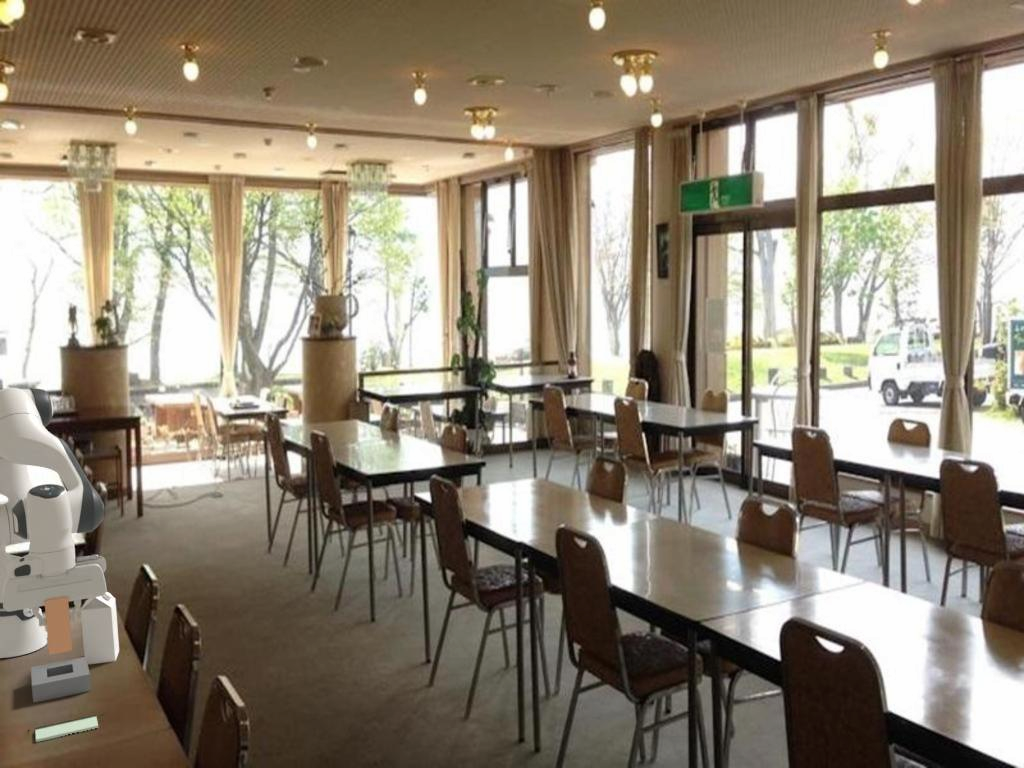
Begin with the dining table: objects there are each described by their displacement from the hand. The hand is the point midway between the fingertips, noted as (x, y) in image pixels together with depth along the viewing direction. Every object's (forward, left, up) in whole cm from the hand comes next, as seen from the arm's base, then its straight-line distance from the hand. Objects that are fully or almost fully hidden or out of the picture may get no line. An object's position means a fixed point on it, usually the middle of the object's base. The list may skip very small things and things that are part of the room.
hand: (58, 622), depth 201 cm
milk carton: (-18, +27, -23) cm, 40 cm away
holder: (-13, +11, -22) cm, 28 cm away
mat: (0, 0, -22) cm, 22 cm away
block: (0, 0, -6) cm, 6 cm away
